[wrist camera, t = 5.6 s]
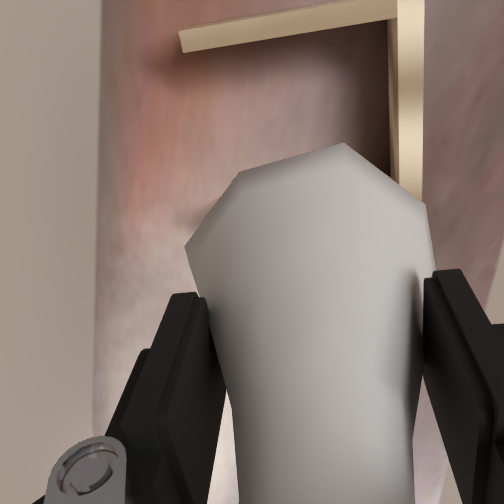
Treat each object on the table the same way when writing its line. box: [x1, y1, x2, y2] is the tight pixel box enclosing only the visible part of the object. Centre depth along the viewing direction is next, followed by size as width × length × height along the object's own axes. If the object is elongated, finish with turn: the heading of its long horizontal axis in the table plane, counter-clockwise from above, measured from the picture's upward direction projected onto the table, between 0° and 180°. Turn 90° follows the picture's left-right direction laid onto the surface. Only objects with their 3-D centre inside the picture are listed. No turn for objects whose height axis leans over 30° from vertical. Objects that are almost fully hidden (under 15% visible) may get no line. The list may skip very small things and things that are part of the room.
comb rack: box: [178, 0, 424, 202], centre depth 29 cm, size 21×12×3 cm, turn 9°
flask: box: [185, 143, 436, 504], centre depth 10 cm, size 7×7×10 cm
